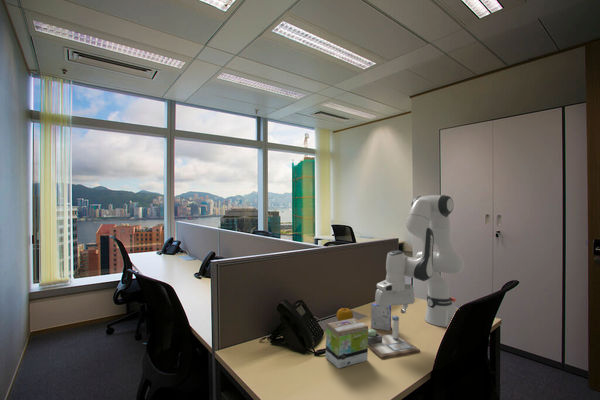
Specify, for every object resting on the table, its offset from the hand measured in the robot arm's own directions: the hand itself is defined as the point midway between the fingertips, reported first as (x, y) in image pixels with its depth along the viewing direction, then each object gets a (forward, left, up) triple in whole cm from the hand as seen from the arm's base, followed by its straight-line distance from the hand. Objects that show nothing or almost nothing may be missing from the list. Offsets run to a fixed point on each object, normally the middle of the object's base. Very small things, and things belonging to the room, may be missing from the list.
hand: (395, 313), depth 137 cm
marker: (0, 0, -12) cm, 12 cm away
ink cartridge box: (-2, -15, -13) cm, 20 cm away
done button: (+12, -2, -11) cm, 16 cm away
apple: (+15, -24, -13) cm, 31 cm away
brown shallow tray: (+6, +3, -13) cm, 14 cm away
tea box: (+30, +8, -13) cm, 33 cm away
